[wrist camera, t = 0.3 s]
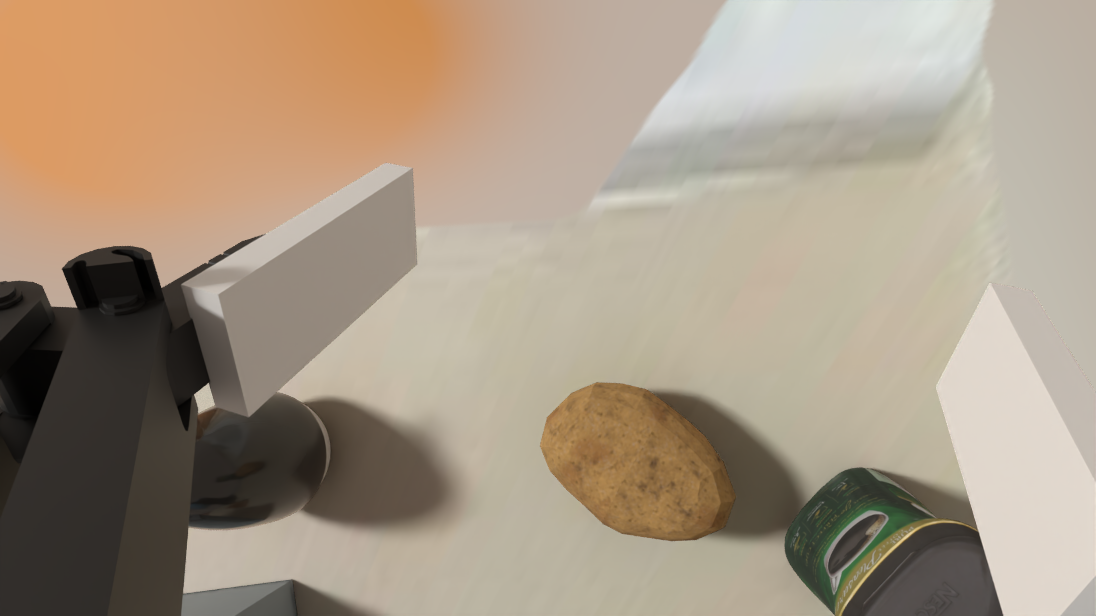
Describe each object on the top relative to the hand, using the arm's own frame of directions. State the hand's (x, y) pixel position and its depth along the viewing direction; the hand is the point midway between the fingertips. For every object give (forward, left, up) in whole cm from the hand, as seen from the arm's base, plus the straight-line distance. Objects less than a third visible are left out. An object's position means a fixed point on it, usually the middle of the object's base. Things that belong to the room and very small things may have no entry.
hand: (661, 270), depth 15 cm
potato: (-10, +4, -35) cm, 37 cm away
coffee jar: (-18, -10, -35) cm, 41 cm away
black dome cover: (-5, +33, -35) cm, 48 cm away
